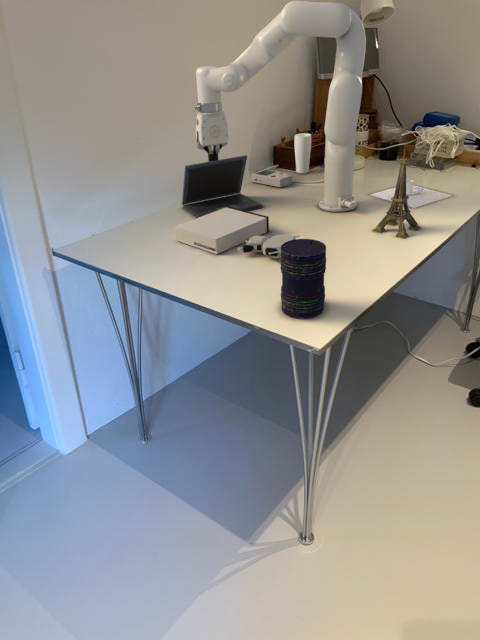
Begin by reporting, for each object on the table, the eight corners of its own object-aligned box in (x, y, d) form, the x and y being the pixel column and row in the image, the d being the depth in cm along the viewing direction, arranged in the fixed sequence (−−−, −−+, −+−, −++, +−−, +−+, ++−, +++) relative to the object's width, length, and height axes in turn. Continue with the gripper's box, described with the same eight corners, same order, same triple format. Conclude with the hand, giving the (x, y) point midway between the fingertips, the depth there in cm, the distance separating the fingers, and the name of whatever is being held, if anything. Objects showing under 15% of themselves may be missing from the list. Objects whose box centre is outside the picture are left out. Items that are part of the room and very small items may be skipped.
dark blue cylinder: (307, 324, 116) (308, 260, 109) (272, 310, 122) (270, 249, 115) (333, 306, 123) (335, 244, 115) (298, 294, 129) (298, 235, 121)
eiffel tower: (404, 238, 156) (414, 150, 143) (372, 231, 162) (378, 145, 150) (421, 228, 162) (432, 142, 150) (389, 221, 169) (397, 138, 156)
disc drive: (269, 231, 166) (268, 216, 163) (217, 255, 152) (216, 238, 149) (228, 220, 176) (227, 205, 174) (176, 241, 163) (174, 225, 160)
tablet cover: (247, 156, 186) (246, 155, 186) (185, 167, 177) (185, 165, 177) (240, 193, 198) (239, 192, 199) (182, 205, 189) (181, 203, 190)
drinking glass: (311, 174, 221) (312, 136, 213) (294, 175, 221) (294, 137, 214) (309, 170, 227) (310, 132, 219) (293, 170, 227) (293, 133, 219)
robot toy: (235, 260, 150) (284, 264, 143) (233, 244, 148) (283, 248, 141) (256, 244, 159) (303, 248, 152) (254, 229, 157) (302, 233, 150)
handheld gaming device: (279, 188, 205) (280, 178, 203) (251, 182, 214) (250, 173, 212) (294, 183, 211) (294, 173, 209) (265, 178, 219) (265, 168, 218)
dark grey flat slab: (262, 207, 186) (262, 204, 186) (201, 220, 178) (201, 217, 177) (240, 196, 199) (240, 193, 198) (182, 208, 190) (182, 204, 189)
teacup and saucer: (426, 193, 192) (427, 181, 190) (411, 197, 188) (412, 186, 186) (406, 188, 198) (408, 176, 196) (391, 192, 194) (392, 181, 192)
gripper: (193, 112, 170) (197, 170, 179) (235, 107, 175) (238, 164, 185) (184, 109, 176) (189, 166, 185) (225, 104, 181) (228, 159, 190)
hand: (213, 164), depth 185 cm, fingers closed
